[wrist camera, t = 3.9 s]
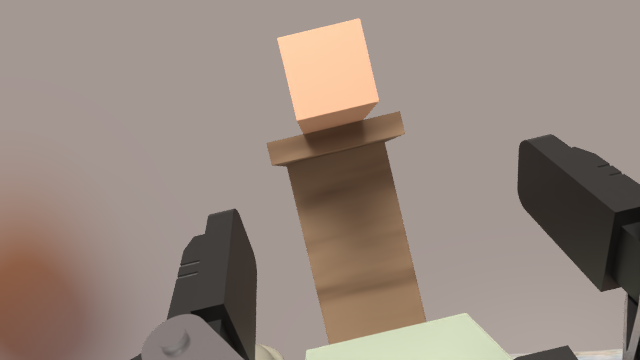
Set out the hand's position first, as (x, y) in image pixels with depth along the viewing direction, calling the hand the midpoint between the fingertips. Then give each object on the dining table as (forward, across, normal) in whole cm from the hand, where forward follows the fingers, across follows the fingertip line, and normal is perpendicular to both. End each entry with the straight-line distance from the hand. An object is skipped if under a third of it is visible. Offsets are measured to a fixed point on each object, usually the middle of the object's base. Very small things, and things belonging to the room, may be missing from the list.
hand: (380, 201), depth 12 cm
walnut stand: (+5, 0, +38) cm, 38 cm away
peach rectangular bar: (+18, 0, +6) cm, 19 cm away
